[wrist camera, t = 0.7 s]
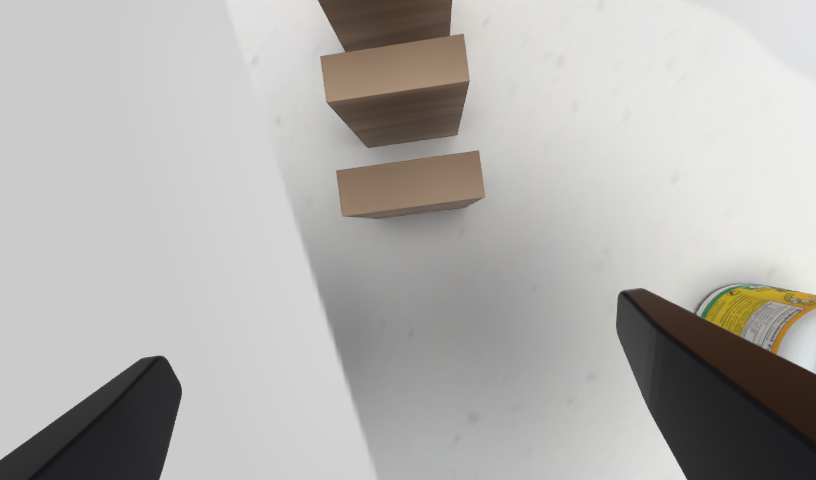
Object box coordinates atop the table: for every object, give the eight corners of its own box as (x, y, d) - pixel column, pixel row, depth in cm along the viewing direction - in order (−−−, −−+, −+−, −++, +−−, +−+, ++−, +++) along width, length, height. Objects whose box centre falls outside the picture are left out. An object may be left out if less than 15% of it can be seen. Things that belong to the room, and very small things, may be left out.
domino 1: (447, 62, 26) (454, -38, 16) (358, 76, 26) (311, -14, 16) (444, 33, 26) (448, -85, 16) (354, 47, 26) (304, -60, 16)
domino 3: (466, 206, 26) (484, 196, 16) (377, 218, 27) (342, 216, 17) (462, 178, 26) (479, 150, 16) (373, 190, 27) (336, 170, 17)
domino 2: (457, 134, 26) (469, 80, 16) (367, 147, 27) (326, 102, 17) (453, 105, 26) (463, 34, 16) (364, 119, 27) (320, 56, 17)
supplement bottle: (668, 341, 26) (804, 410, 16) (729, 261, 26) (904, 284, 16) (751, 399, 26) (937, 503, 16) (813, 320, 25) (1040, 378, 16)
